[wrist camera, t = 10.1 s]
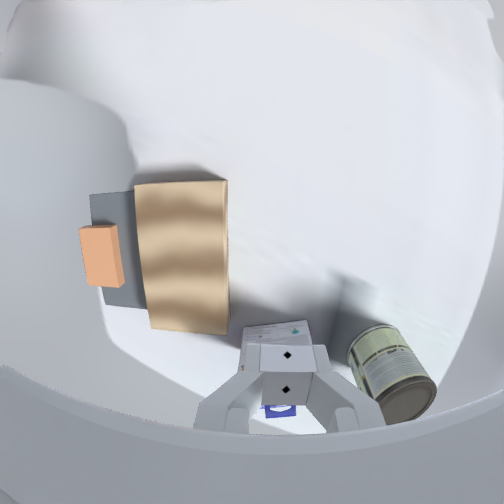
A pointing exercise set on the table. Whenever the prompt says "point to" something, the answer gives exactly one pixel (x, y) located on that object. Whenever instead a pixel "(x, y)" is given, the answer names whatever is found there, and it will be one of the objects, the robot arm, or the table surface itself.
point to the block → (102, 255)
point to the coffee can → (391, 374)
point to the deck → (185, 254)
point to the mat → (122, 246)
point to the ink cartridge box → (276, 336)
